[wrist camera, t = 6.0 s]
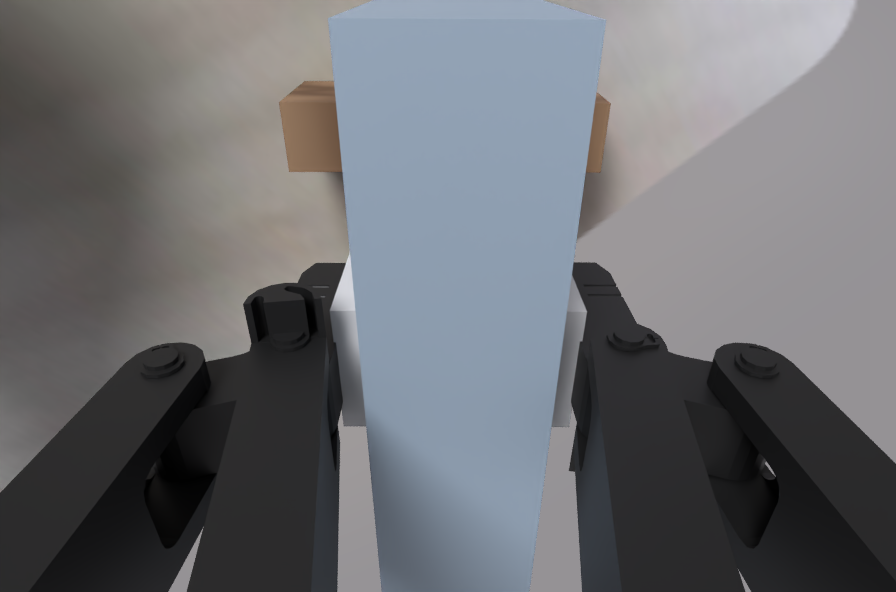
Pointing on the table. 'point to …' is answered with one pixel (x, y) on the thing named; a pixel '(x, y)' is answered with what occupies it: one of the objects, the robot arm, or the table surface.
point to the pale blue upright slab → (461, 267)
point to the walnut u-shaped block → (318, 136)
